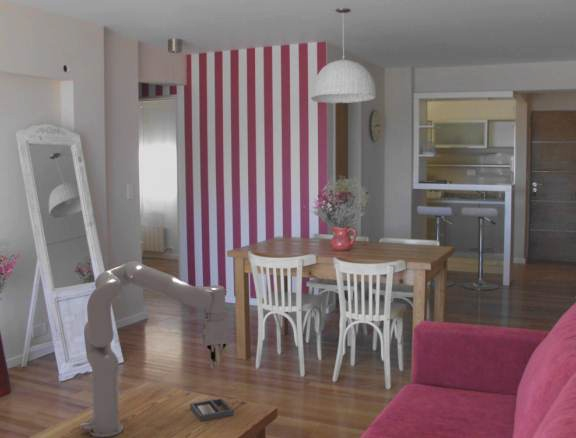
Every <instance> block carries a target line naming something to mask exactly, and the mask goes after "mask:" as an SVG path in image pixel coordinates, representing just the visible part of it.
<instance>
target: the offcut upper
mask: <svg viewBox="0 0 576 438" xmlns="http://www.w3.org/2000/svg"><path fill="white" fill-rule="evenodd" d="M197 409H198V410H199V412H200V413H201V414H202V415H203V414H209V413H214V412H215V411H214V410H213V409H212V407H211V406H210V405H209V404H207V405H201V406H197Z"/></svg>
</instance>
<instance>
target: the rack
mask: <svg viewBox="0 0 576 438" xmlns="http://www.w3.org/2000/svg"><path fill="white" fill-rule="evenodd" d="M207 404H209V405H210V406H211V407H212V409H213V410H214V411H215V412H214V413H209V414H203V415H202V414H201V413H200V412H199V410H198V409H197V406H201V405H207ZM189 405H190V406H189V410H190V411H191V412H192V413H193V415H194V416H195V417H196V418H197V419H198V421H199V422H200V423H201V422H205V421H212V420H217V419H223V418H227V417H233V416H234V409H233V408H232V407H231V406H230V405H229V404H228V403H227V402H226V401H225V400H224V399H223V398H222V397H219V398H215V399H209V400H204V401H203V400H202V401H197V402H191V403H189ZM219 406H221V407H222V408H223V409H224V410H221V408H220V407H219Z"/></svg>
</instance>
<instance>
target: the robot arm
mask: <svg viewBox="0 0 576 438" xmlns="http://www.w3.org/2000/svg"><path fill="white" fill-rule="evenodd" d="M94 283H95V289H94V290H93V291H92V292H91V294H90V296H89V298H88V300H87V304H86V311H87V313H86V314H87V322H86V324H84V325H85V326H84V329H83V335H84V344H85V346H84V347H85V353H86V354H85V355H86V360H87V362H88V365H90V366H89V367H91V370H92V371H91V373H92V378H91V379H92V380H91V393H92V397H91V398H92V418H91V420H90V421H89V422H84V423H80V424H79V425H80V429H81V430H82V429H84V431H88V432H89V435H91V436H92V437H96V438H108V437H113V436H117V435H119V434H121V432H123V431H124V424H123V423H122V422H120V409H119V407H120V404H119V371H120V369H119V368H120V364H119V359H118V357H117V355H116V353H115V352H114V351H113V350H112V347H111V343H112V342H113V340H114V330H113V329H114V328H113V321H112V320H113V319H112V305H113V302H114V301H115V300H116V299H117V298H119V296H120V295H121V294H122V292H123V289H124V287H126V286H128V285H131V284H132V285H133V286H136V287H138V288H141V289H144V290H147V291H150V292H152V293H155V294H158V295H161V296H163V297H165V298H168V299H171V300H175V301H177V302H179V303H182V304H185V305H188V306H190V307H193V308H195V309H199V310H205V309H206V312H205V314H203V315H202V318H203V319H205V320H204V324H203V325H204V326H203V333H202V334H203V335H202V339H203V340H202V343H201V347H202V348H205V349H206V348H207V349H208V350H209V351H211V359H212V360H213V361H215V350H214V347H215V346H221V351H222V352H223V351H224V348H225V347H226V346H228V345H230V344H231V340H230V339H231V338H230V328H229V321H228V318H226V289H225V287H224V286H222V285H218V284H217V285H216V284H215V285H209V286H202V285H200V286H199V285H198V286H194V285H191V284H189V283H187V282H186V281H185V282H184V281H183V280H182V279H179V278H177V277H176V276H174V275H172V274H169V273H167V272H163V271H161V270H158V269H155V268H153V267H151V266H147V265H146V264H144V263H141V262H140V261H134V260H133V261H129V262H126V263H123V264H121V265H119V266H116V267H113V268H111V269H108V270H106V271H103V272H101V273H100V274H98V276H97V277H96V278H95V282H94Z"/></svg>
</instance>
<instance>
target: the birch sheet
mask: <svg viewBox="0 0 576 438" xmlns="http://www.w3.org/2000/svg"><path fill="white" fill-rule="evenodd" d="M214 350H215V361H213V360H212V359H211V351H210V350H209V351H208V358H209V359H208V361H209V365H210V366H209V368H210V369H216V368H218V367H219V366H221V365H222V364H224V359H223V350H222V351H221V346H218V345H215V346H214Z"/></svg>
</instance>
